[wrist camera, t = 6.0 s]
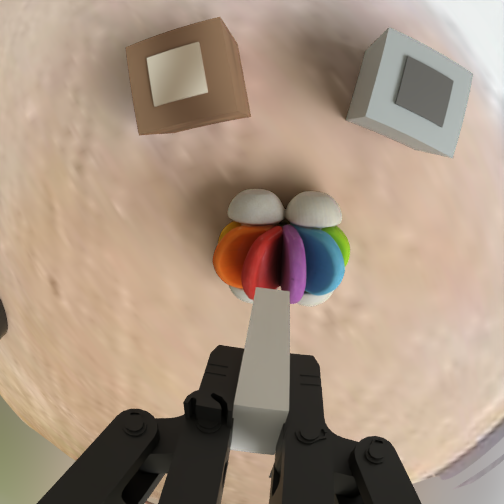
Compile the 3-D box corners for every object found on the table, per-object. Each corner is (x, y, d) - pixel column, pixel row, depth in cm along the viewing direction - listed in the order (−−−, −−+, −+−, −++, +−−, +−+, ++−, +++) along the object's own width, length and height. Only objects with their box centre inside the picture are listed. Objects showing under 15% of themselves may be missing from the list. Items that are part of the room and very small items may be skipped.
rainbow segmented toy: (222, 184, 23) (194, 208, 16) (349, 190, 22) (375, 217, 15) (225, 283, 26) (203, 334, 19) (337, 289, 25) (350, 343, 18)
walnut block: (174, 132, 21) (137, 135, 16) (162, 63, 19) (123, 46, 13) (251, 116, 20) (236, 110, 15) (237, 44, 18) (219, 15, 12)
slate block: (345, 120, 20) (366, 116, 14) (365, 51, 17) (390, 26, 11) (415, 149, 20) (454, 158, 14) (433, 83, 17) (474, 73, 11)
